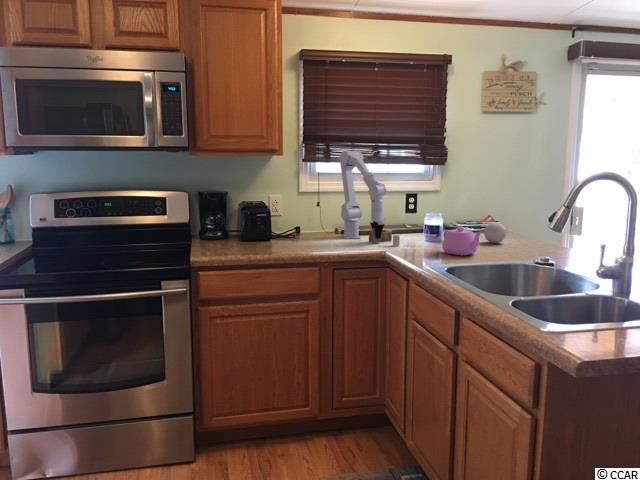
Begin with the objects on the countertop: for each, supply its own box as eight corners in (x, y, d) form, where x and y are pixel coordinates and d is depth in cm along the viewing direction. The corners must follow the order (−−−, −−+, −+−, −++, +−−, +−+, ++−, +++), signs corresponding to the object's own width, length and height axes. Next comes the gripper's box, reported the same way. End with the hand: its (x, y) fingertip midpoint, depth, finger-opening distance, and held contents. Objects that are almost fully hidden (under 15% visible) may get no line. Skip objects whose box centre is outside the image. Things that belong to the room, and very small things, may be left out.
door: (390, 240, 252) (390, 231, 251) (391, 241, 251) (391, 232, 250) (368, 241, 250) (368, 232, 249) (369, 242, 249) (369, 233, 248)
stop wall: (392, 245, 241) (393, 234, 240) (397, 245, 241) (398, 234, 240) (394, 246, 238) (394, 235, 237) (399, 246, 238) (399, 235, 237)
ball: (503, 245, 237) (504, 224, 235) (481, 244, 242) (482, 223, 240) (507, 242, 246) (508, 221, 244) (485, 240, 250) (486, 220, 249)
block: (371, 240, 248) (371, 228, 247) (379, 240, 249) (379, 228, 248) (373, 242, 244) (373, 229, 243) (381, 241, 245) (381, 229, 244)
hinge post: (386, 240, 254) (386, 230, 253) (390, 239, 255) (390, 230, 254) (387, 240, 252) (387, 230, 251) (391, 240, 252) (391, 230, 252)
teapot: (433, 252, 223) (434, 226, 221) (451, 248, 231) (452, 223, 229) (472, 260, 208) (473, 231, 206) (490, 255, 216) (492, 228, 214)
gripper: (388, 211, 237) (388, 239, 239) (381, 207, 251) (381, 234, 254) (374, 211, 236) (374, 240, 239) (367, 208, 251) (367, 235, 253)
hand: (377, 237), depth 246 cm, fingers closed on block, 4 cm apart
